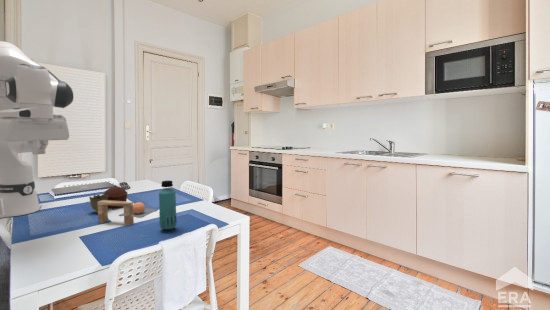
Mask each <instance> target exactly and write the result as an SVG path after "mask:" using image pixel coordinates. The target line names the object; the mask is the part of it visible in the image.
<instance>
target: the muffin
mask: <svg viewBox="0 0 550 310" xmlns="http://www.w3.org/2000/svg"><path fill="white" fill-rule="evenodd" d="M102 195H103V196H104V195H107V196H108V200H112V201H126V202H127V200H128V199H127V198H128V191H127V190H126V189H125V188H123V187H121V186H114V187H109V188H107V189H106V190H105V191H104V192H103V194H102ZM107 207H108V210H116V209H117V210H119V209H122V208H124V206H112V205H107Z"/></svg>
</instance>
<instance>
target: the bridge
mask: <svg viewBox="0 0 550 310" xmlns="http://www.w3.org/2000/svg"><path fill="white" fill-rule="evenodd" d="M97 203H98V213H97V219H98V220H97V222H98V223H99V224H104V223H106V222H108V221H109V211H108V210H109V209H108V207H107V205H112V206H124V207H123V213H124V216H123V222H124V226H130V225H132V224H134V223H135V222H134V221H135V219H134V217H133V205H134V201H127V200H126V201H112V200H101V201H98V202H97Z"/></svg>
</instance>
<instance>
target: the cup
mask: <svg viewBox="0 0 550 310" xmlns="http://www.w3.org/2000/svg"><path fill="white" fill-rule="evenodd" d="M101 200H108V196H107V195H104V196H103V194H101V195H100V194H97V195H95V194H94V195H93V197H92V196H90V197H89V202H90V206H91V208H92V209H93V211H94V210H95V211H94V213H96V214H98V203H97V202H98V201H101Z"/></svg>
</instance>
